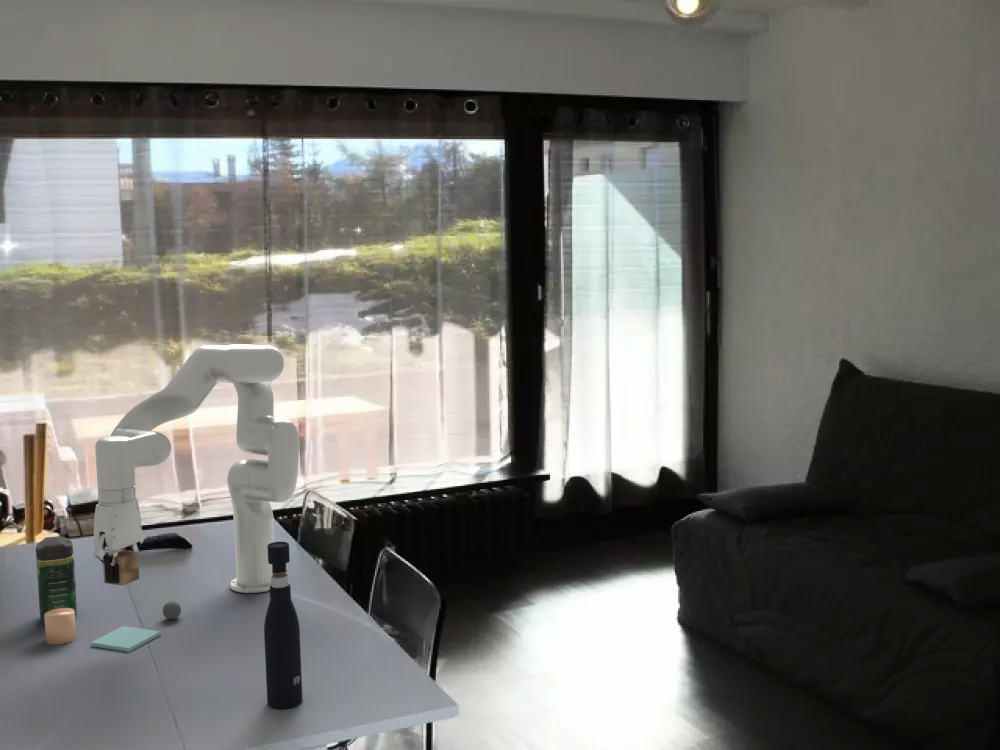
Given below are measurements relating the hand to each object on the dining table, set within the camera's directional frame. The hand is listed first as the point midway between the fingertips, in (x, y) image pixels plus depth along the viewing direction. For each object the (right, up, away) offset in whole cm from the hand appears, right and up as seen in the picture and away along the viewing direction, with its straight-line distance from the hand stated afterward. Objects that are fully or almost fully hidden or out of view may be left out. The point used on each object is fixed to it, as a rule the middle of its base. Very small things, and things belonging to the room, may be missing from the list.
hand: (121, 577), depth 225 cm
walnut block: (0, -1, 0) cm, 1 cm away
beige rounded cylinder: (-14, -14, +3) cm, 20 cm away
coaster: (0, -14, +2) cm, 14 cm away
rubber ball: (+6, -10, +14) cm, 19 cm away
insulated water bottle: (+41, -18, -29) cm, 53 cm away
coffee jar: (-20, -13, +16) cm, 29 cm away
